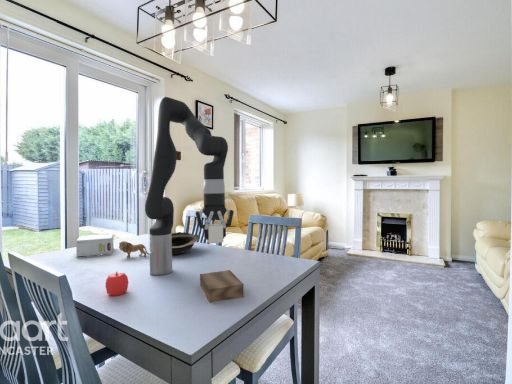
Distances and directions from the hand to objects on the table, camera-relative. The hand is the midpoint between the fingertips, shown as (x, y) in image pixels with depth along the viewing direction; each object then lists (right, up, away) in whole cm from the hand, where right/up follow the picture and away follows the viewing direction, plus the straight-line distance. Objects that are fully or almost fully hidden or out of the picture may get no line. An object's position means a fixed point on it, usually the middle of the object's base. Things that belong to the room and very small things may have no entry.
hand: (215, 238), depth 100 cm
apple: (-36, -20, 0) cm, 41 cm away
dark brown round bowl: (-30, -17, +57) cm, 67 cm away
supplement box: (-75, -18, +55) cm, 94 cm away
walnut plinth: (+2, -20, +2) cm, 20 cm away
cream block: (0, -1, 0) cm, 1 cm away
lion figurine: (-50, -18, +46) cm, 70 cm away
